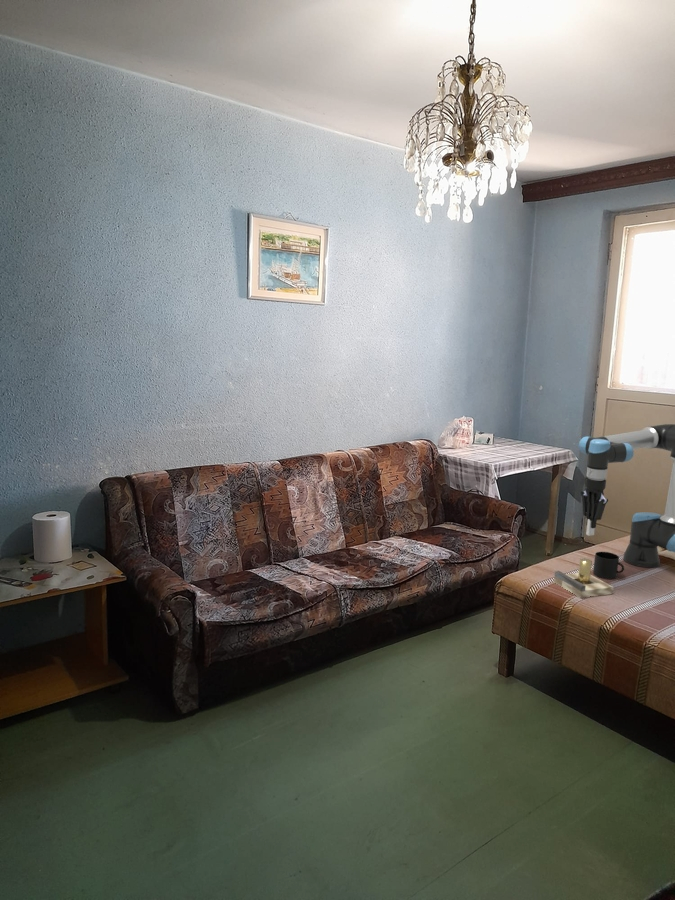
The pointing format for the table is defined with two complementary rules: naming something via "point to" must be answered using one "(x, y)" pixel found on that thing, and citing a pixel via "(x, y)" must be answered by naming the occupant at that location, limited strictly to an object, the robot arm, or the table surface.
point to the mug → (606, 565)
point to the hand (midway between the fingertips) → (590, 534)
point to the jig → (579, 589)
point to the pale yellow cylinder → (584, 571)
